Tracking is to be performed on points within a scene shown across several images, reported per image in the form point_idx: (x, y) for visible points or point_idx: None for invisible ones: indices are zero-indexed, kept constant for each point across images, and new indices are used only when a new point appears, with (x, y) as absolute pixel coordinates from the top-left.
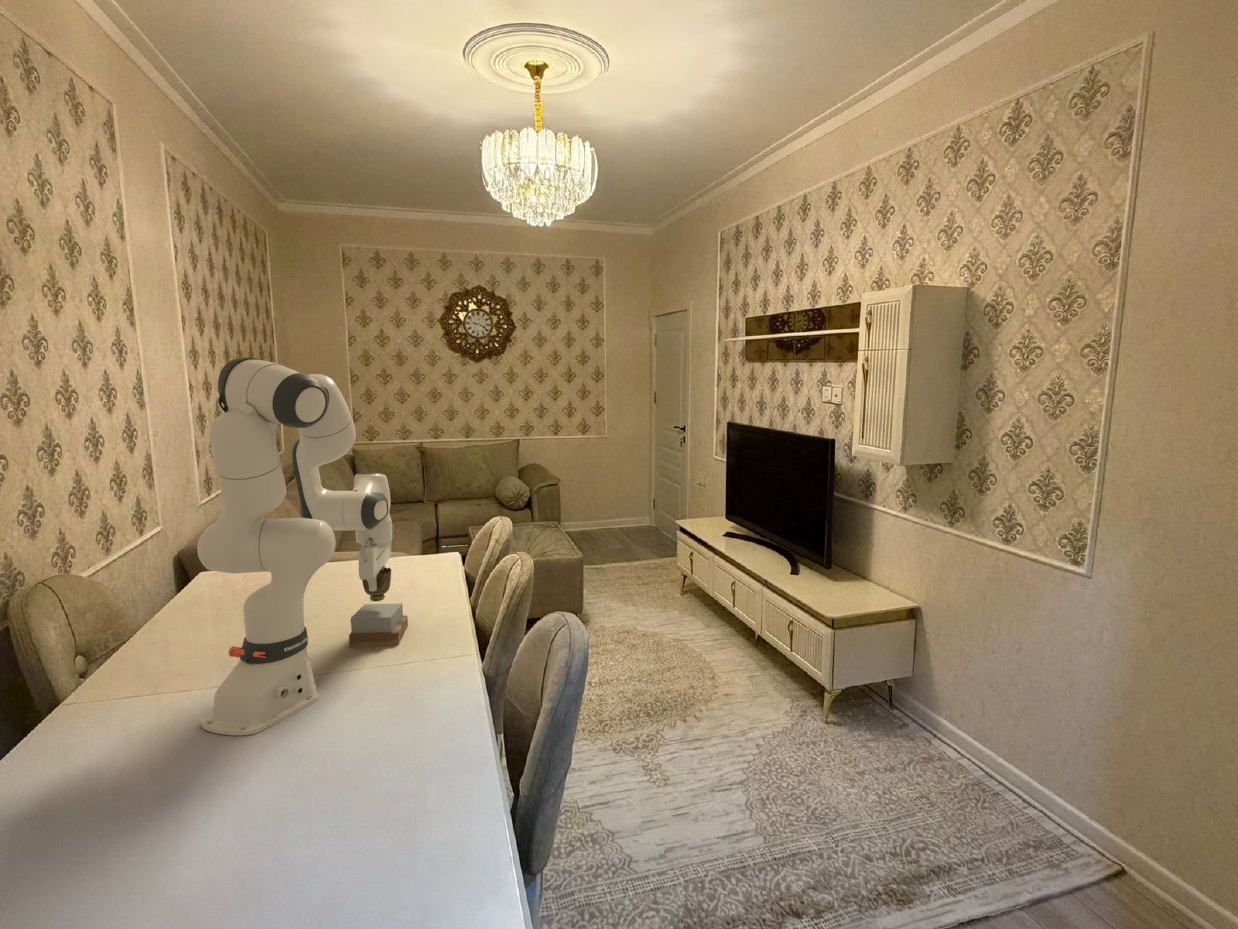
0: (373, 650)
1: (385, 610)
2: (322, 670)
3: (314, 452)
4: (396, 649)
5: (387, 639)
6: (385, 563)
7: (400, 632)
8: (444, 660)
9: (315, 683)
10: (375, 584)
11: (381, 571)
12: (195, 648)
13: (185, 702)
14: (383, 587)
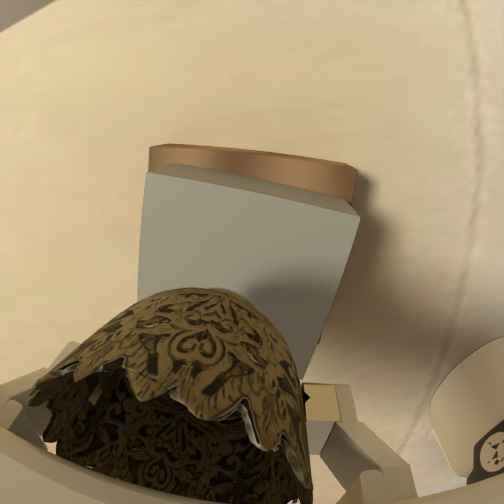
0: (358, 247)
1: (242, 252)
2: (427, 352)
3: None
4: (376, 171)
5: None
6: (19, 442)
7: (311, 160)
8: (482, 40)
9: (502, 347)
10: (363, 425)
11: (59, 403)
12: None
13: (419, 470)
14: (280, 345)
